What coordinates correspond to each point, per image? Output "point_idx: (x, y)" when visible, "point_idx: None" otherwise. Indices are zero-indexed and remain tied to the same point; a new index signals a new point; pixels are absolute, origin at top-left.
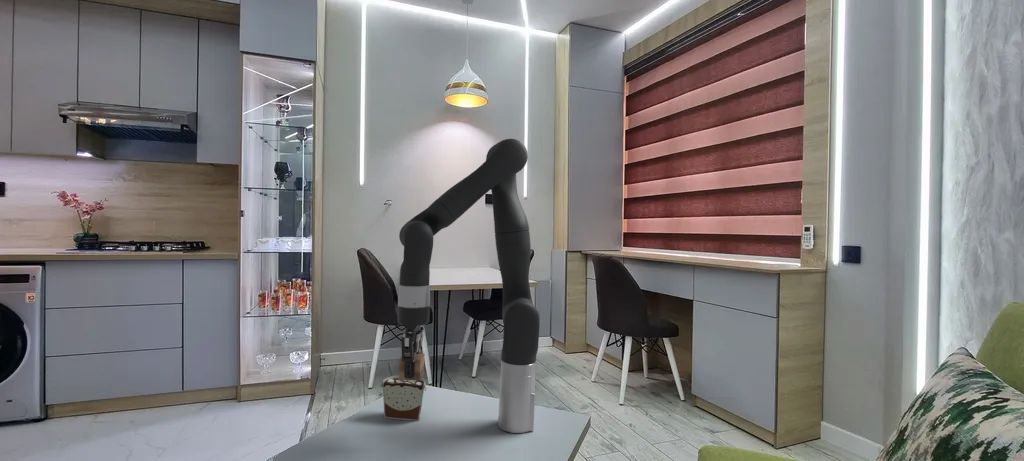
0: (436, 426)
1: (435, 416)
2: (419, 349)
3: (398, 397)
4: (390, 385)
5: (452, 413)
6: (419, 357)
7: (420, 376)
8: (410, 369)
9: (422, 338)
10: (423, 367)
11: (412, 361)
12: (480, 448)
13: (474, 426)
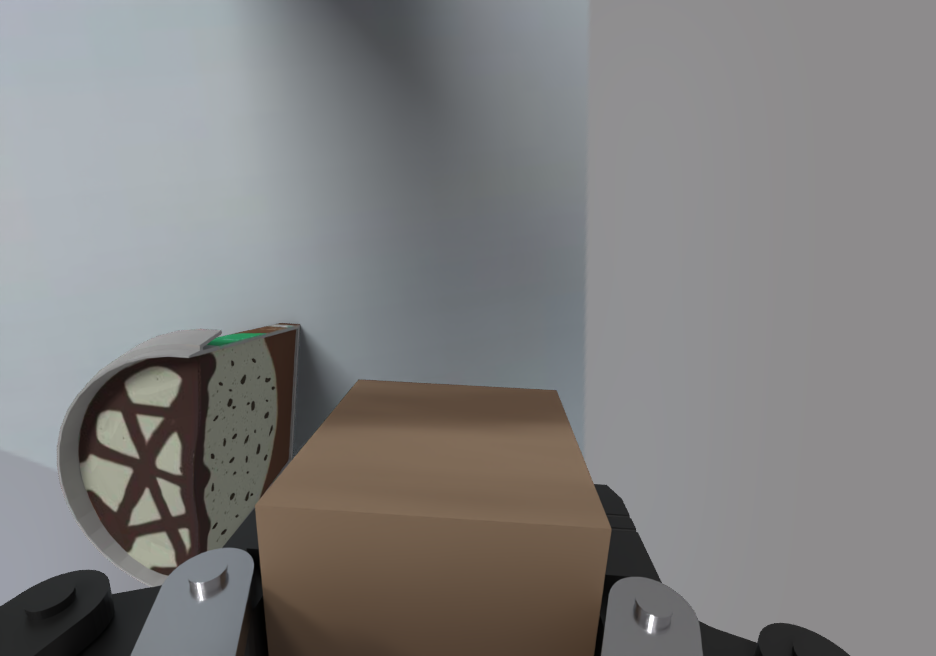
0: (345, 239)
1: (241, 256)
2: (228, 648)
3: (244, 456)
4: (206, 535)
5: (192, 179)
6: (488, 555)
7: (536, 402)
8: (639, 550)
9: None
10: (375, 413)
11: (827, 640)
12: (550, 6)
13: (322, 51)
